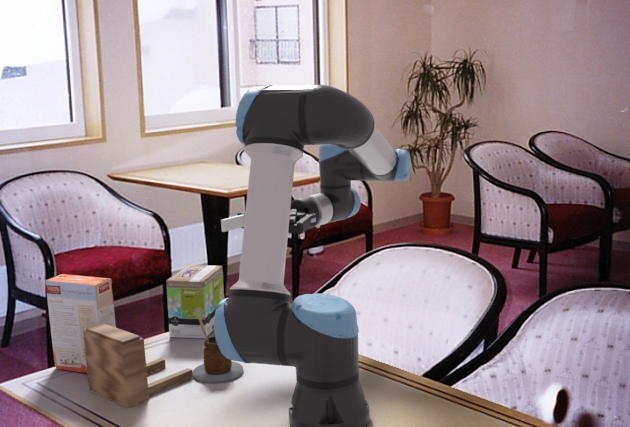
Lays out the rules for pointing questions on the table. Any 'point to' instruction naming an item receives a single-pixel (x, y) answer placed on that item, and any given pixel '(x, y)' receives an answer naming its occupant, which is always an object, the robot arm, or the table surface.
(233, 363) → the plate
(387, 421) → the table surface
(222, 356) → the utensil holder
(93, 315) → the cracker box
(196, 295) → the tea box
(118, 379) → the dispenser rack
